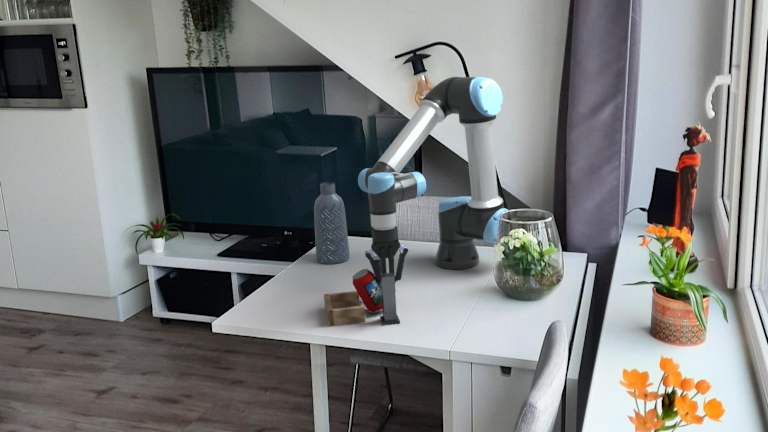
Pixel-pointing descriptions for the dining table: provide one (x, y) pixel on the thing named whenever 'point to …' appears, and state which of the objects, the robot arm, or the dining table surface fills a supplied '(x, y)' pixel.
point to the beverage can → (368, 290)
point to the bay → (343, 308)
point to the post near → (388, 299)
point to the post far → (377, 265)
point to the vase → (330, 226)
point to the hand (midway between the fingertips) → (390, 303)
